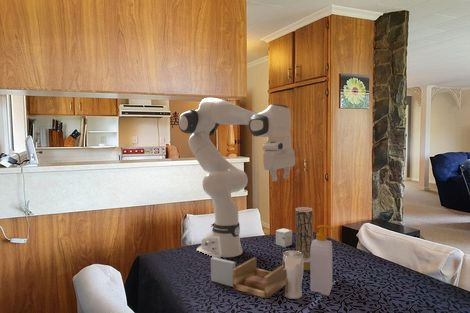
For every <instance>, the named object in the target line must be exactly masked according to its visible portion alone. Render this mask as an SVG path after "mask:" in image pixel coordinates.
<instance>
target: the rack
mask: <svg viewBox="0 0 470 313" xmlns="http://www.w3.org/2000/svg"><path fill="white" fill-rule="evenodd" d="M235 267H236V268H234V269H233V287H232V289H233V290H235V291H239V292H244V293H247V294H250V295H254V296H257V297H261V298H264V299H269V298H271V297H272V296H273V295H274V294H275V293H277V292H278V291H279V290H281V289H282V288H283V287H285V280H284V274H283V264H281V265H280V266H278V267H277V268H276V269H273V271H271V270H266V269H263V268H262V269H261V268H257V257H251V258H250V259H248V260H247V261H246V260H245V261H244V262H243V263H241V264H239V265H238V266H235ZM250 275H252V276H257V277H262V278H264V291H262V290H258V289H254V288H251V287H247V286H244V282H245V279H246V278H248V277H249V276H250Z"/></svg>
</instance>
